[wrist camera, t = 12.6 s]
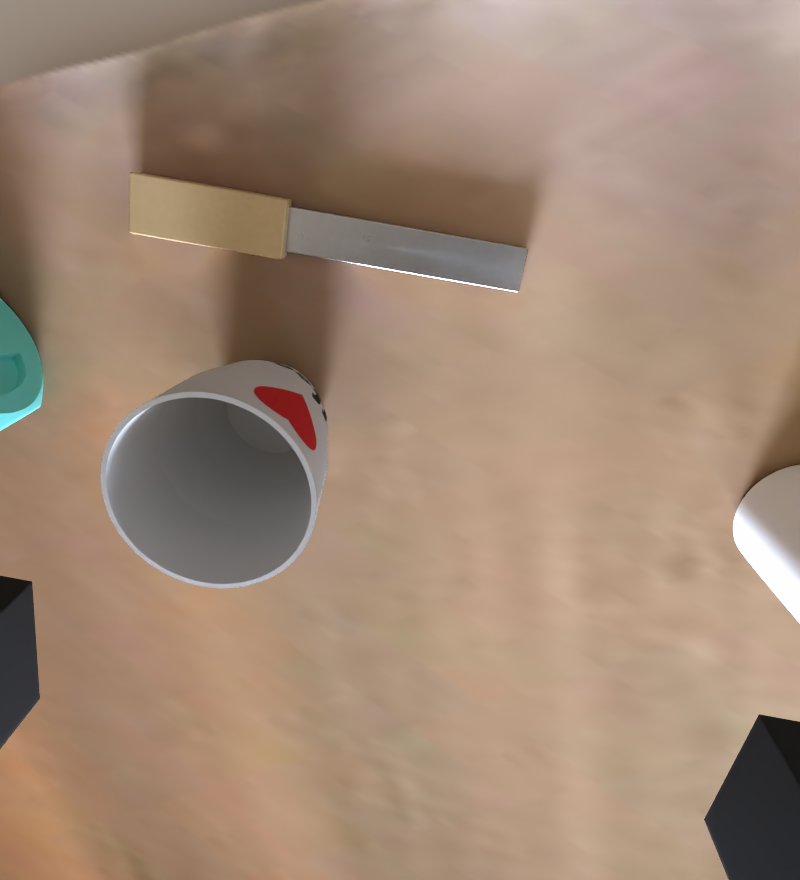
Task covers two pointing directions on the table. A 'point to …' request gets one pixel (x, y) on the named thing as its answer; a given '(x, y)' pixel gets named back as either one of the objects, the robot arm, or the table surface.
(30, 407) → the decorative dice
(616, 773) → the table surface
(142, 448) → the cup
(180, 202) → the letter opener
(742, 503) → the can
